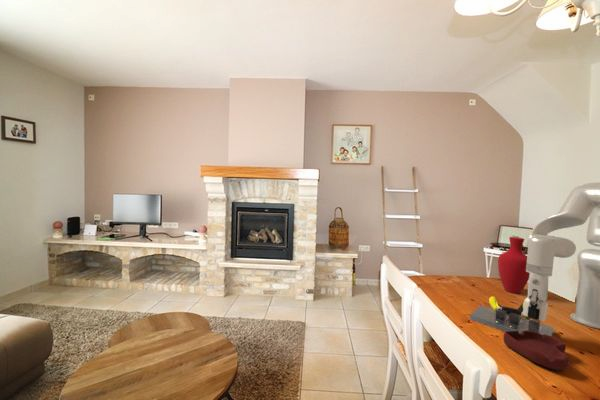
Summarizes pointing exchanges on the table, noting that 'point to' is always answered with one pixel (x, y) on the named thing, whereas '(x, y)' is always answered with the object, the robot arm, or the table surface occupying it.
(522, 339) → the ashtray
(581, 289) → the robot arm
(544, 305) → the chalk-white cube
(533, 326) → the toggle
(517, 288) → the vase
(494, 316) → the panel
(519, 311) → the gaming controller
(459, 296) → the table surface
